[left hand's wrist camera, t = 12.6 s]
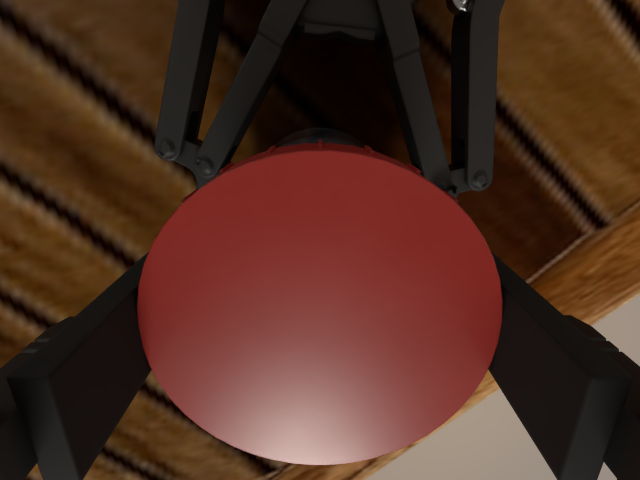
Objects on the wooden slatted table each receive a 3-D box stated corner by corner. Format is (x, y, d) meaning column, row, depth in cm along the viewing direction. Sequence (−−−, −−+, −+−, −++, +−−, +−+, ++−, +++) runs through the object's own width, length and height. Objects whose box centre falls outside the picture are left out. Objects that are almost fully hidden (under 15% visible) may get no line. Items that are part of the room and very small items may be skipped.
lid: (548, 232, 11) (586, 253, 9) (383, 459, 14) (391, 503, 13) (225, 71, 9) (207, 66, 8) (121, 367, 13) (94, 403, 11)
